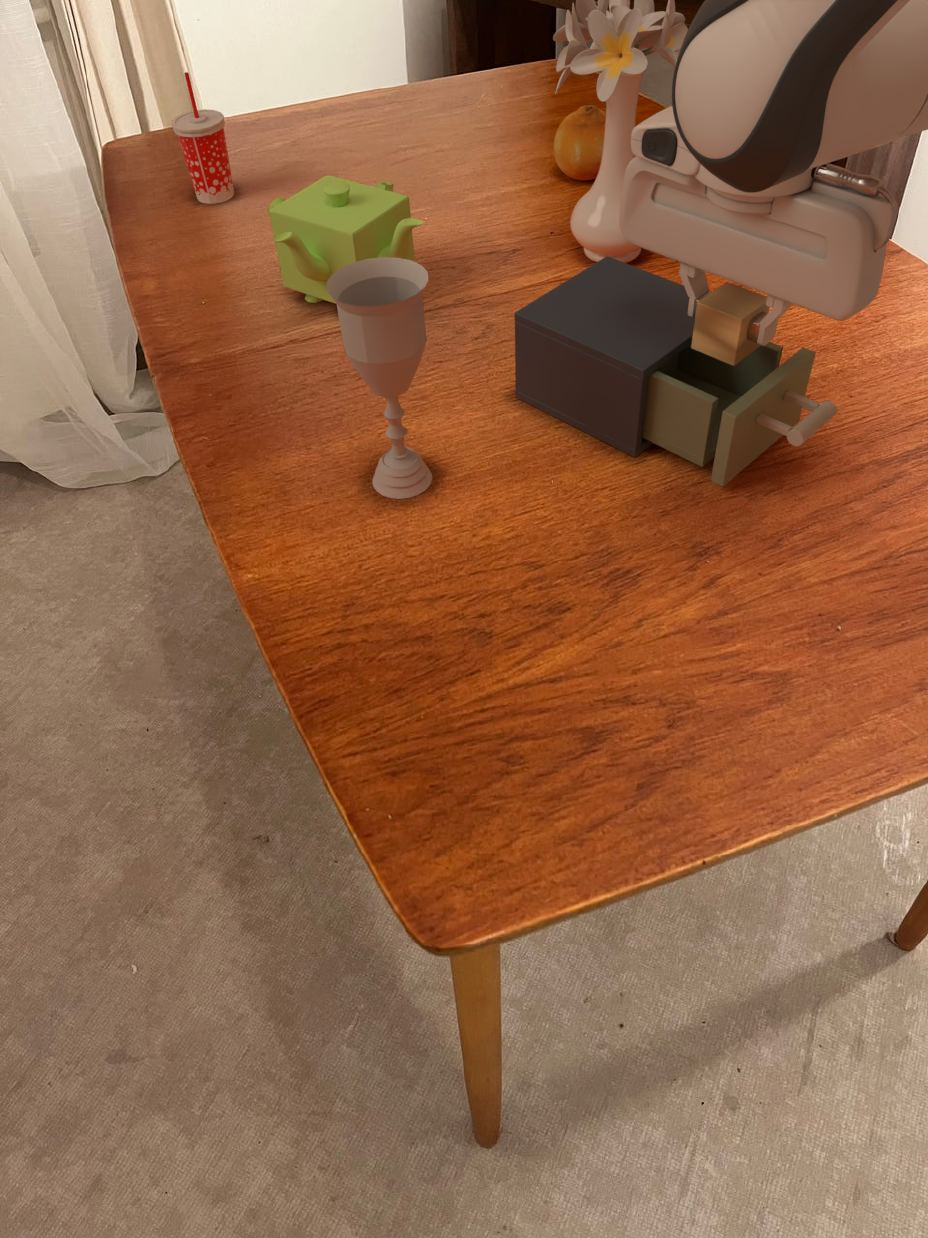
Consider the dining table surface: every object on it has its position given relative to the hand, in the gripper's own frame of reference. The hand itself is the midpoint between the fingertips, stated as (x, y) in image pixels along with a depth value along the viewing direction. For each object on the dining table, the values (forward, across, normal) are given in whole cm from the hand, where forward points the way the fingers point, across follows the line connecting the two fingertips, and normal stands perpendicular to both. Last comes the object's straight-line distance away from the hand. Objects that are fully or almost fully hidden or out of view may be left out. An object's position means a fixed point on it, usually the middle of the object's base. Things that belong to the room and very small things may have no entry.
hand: (729, 327), depth 76 cm
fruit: (+11, +42, -34) cm, 55 cm away
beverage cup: (+11, +74, -2) cm, 75 cm away
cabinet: (+11, +10, 0) cm, 15 cm away
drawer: (+10, -1, 0) cm, 10 cm away
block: (+2, 0, 0) cm, 2 cm away
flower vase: (+11, +28, -21) cm, 36 cm away
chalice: (+11, +16, +21) cm, 29 cm away
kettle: (+11, +43, +4) cm, 44 cm away
